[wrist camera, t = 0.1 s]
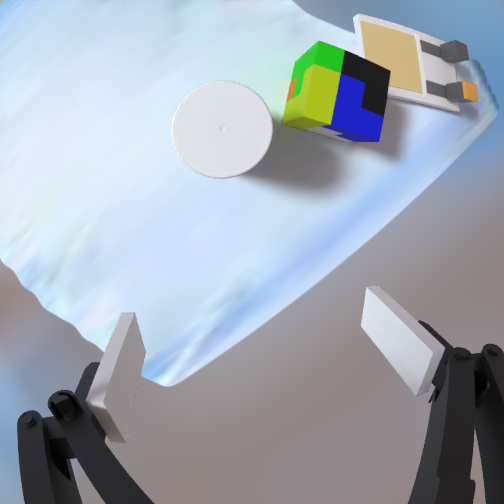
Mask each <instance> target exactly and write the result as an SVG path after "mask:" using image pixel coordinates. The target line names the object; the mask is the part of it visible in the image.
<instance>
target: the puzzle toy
mask: <svg viewBox="0 0 504 504" xmlns="http://www.w3.org/2000/svg"><path fill="white" fill-rule="evenodd" d="M390 74H391V71H390V70H388V69H386V68H384V67H382V66H380V65H378V64H376V63H373V62H371V61H369V60H367V59H365V58H362V57H360V56H358V55H355V54H353V53H350V52H348V51H346V50H343V49H341V48H338V47H335V46H333V45H330V44H327V43H324V42H322V41H318V42H317V43H316V44H315V45H313V46H312V47H311V48H310V49H309V50H308V51H307V52H306V53H305V54H303V55H302V56H301V57H300V58H299V59H298V60H297V61H296V62H295V65H294V70H293V74H292V79H291V83H290V88H289V93H288V97H287V102H286V106H285V111H284V115H283V120H282V124H285V125H289V126H293V127H296V128H300V129H304V130H307V131H311V132H314V133H318V134H321V135H324V136H327V137H331V138H334V139H337V140H340V141H343V142H379V139H380V134H381V129H382V124H383V118H384V113H385V107H386V101H387V95H388V88H389V81H390Z"/></svg>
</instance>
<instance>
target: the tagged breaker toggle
mask: <svg viewBox="0 0 504 504" xmlns="http://www.w3.org/2000/svg"><path fill="white" fill-rule="evenodd" d="M446 93H447V100H451V101H454V102H457V103H460V102H478V97H477V87H476V85H475V84H473V83H470V82H468V81H466V80H464V81H462V82H455V83H448V84H446Z"/></svg>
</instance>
